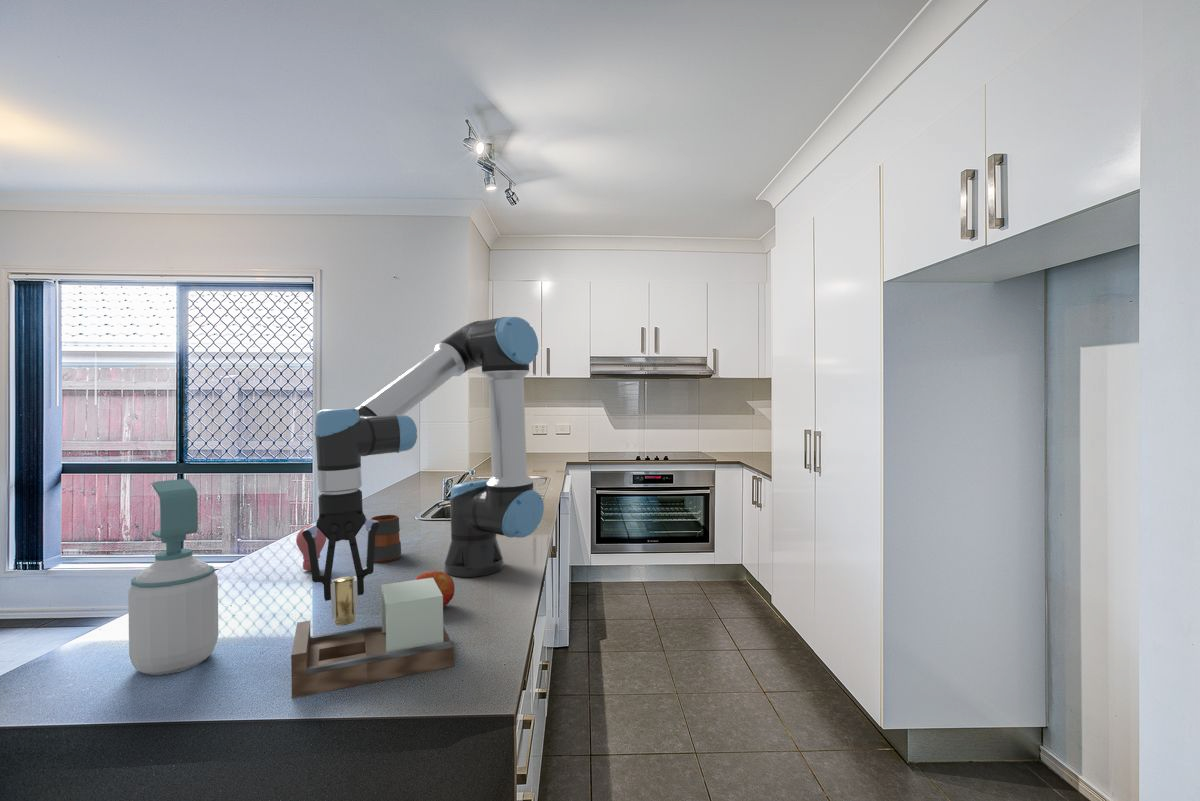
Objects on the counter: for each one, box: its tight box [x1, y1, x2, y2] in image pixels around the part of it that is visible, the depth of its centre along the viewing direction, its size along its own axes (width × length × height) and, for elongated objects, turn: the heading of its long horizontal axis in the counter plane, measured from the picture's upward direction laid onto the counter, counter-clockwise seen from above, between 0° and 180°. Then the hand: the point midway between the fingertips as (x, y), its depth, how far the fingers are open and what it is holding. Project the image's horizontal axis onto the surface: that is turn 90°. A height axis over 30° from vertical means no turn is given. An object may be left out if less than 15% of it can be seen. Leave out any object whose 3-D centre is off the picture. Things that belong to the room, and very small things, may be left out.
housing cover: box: [380, 578, 444, 653], centre depth 100 cm, size 9×11×8 cm
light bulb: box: [295, 524, 327, 572], centre depth 151 cm, size 7×7×12 cm
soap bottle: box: [127, 478, 219, 676], centre depth 98 cm, size 12×12×31 cm
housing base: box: [290, 620, 455, 699], centre depth 97 cm, size 24×14×6 cm, turn 115°
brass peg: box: [333, 576, 357, 627], centre depth 108 cm, size 4×4×8 cm
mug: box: [370, 514, 402, 563], centre depth 164 cm, size 9×12×12 cm
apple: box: [415, 570, 456, 608], centre depth 123 cm, size 8×8×8 cm
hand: (345, 613), depth 109 cm, fingers closed on brass peg, 3 cm apart
